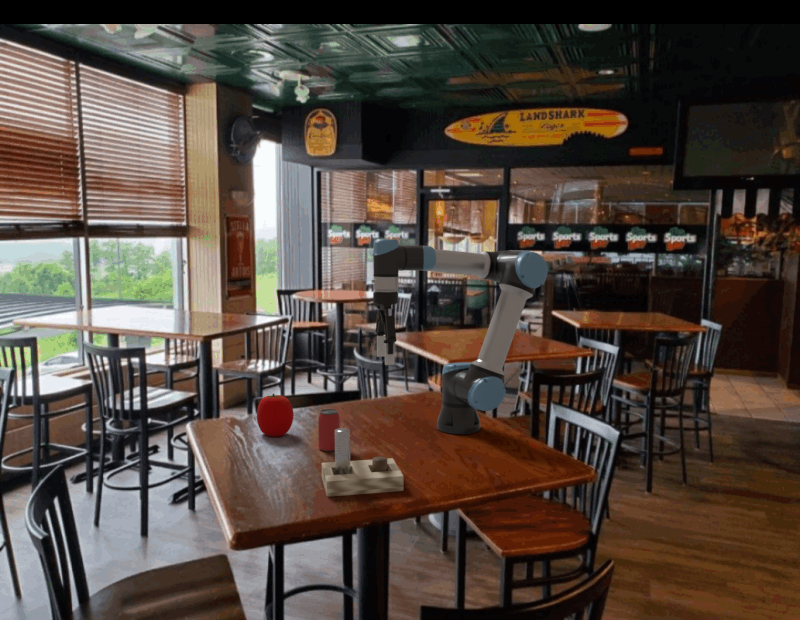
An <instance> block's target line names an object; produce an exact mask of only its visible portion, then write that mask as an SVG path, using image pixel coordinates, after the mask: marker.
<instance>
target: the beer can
mask: <svg viewBox="0 0 800 620" xmlns="http://www.w3.org/2000/svg"><path fill="white" fill-rule="evenodd" d="M340 423H341V418H340V414H339V411H338V409H335V408H326V409H325V408H324V409H321V410H320V411H319V415H318V449H319V450H321V451H324V452H335V430H336V429H339V428H341V427H340V426H341V424H340Z"/></svg>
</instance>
